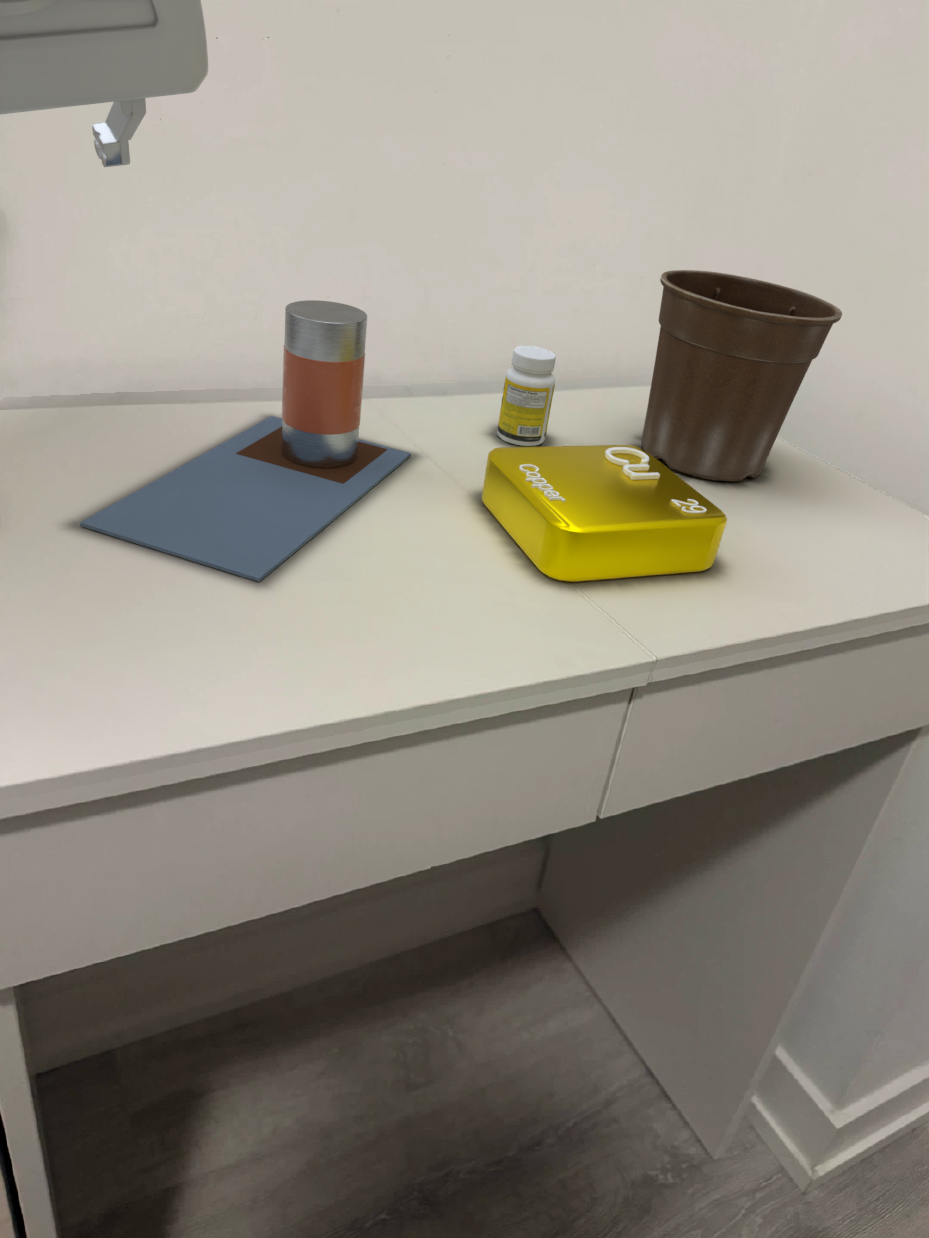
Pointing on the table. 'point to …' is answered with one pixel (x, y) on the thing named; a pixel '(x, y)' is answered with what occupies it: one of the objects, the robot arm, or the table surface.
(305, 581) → the table surface
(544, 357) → the supplement bottle
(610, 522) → the element tile
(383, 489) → the table surface
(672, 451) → the plant pot
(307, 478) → the rubber mat
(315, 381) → the tin can
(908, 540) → the table surface
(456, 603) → the table surface
